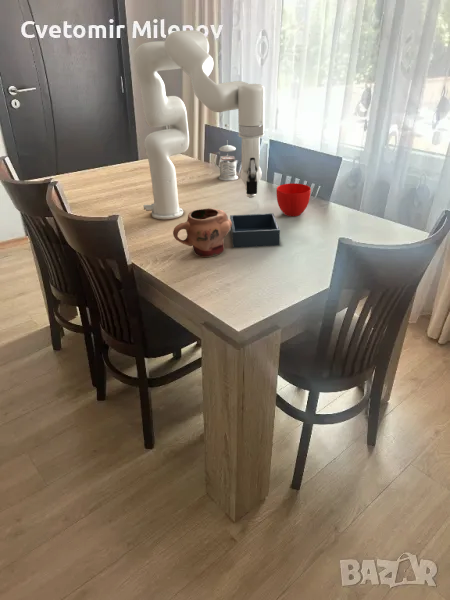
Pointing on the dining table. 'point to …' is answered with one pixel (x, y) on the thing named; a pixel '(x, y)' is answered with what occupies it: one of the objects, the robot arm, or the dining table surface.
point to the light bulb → (244, 179)
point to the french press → (226, 173)
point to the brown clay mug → (205, 231)
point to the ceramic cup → (293, 198)
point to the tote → (254, 230)
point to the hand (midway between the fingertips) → (250, 189)
